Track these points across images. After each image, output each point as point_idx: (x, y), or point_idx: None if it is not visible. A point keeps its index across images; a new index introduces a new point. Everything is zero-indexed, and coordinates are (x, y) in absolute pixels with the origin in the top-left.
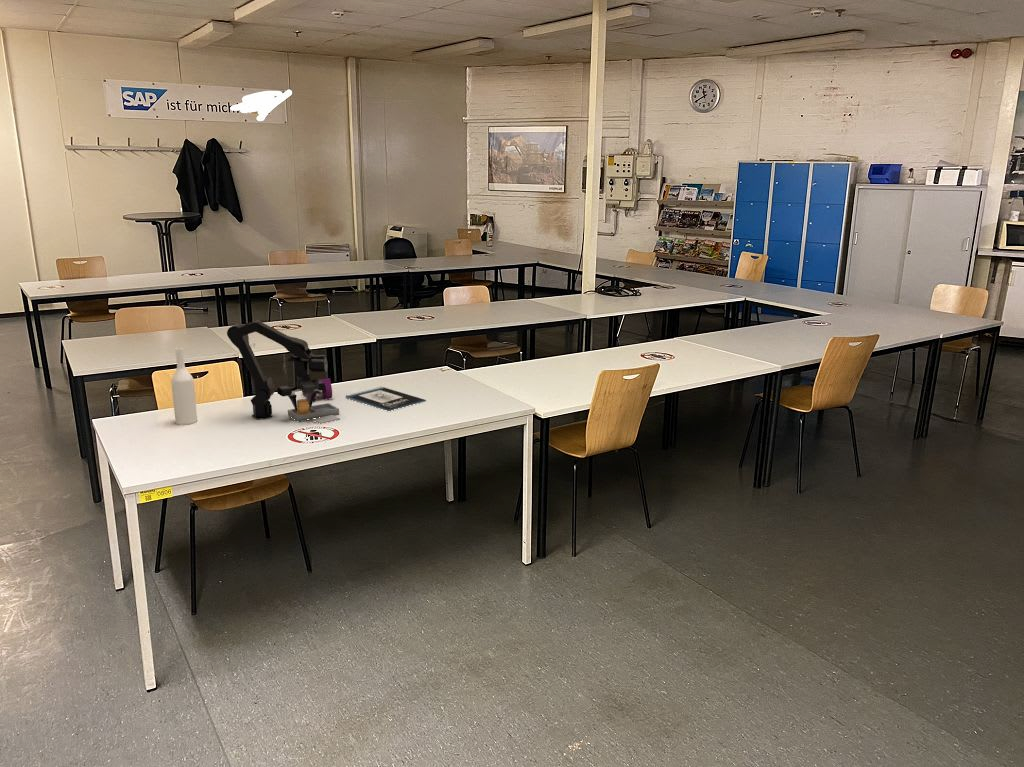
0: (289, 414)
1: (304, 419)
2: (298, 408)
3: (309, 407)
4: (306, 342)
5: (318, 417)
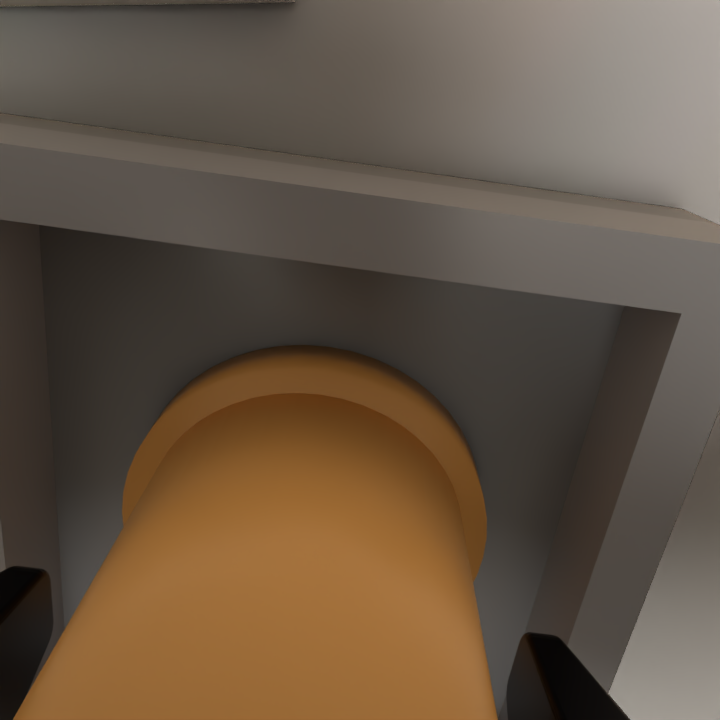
0: None
1: (473, 185)
2: (485, 652)
3: None
4: None
5: (33, 121)
